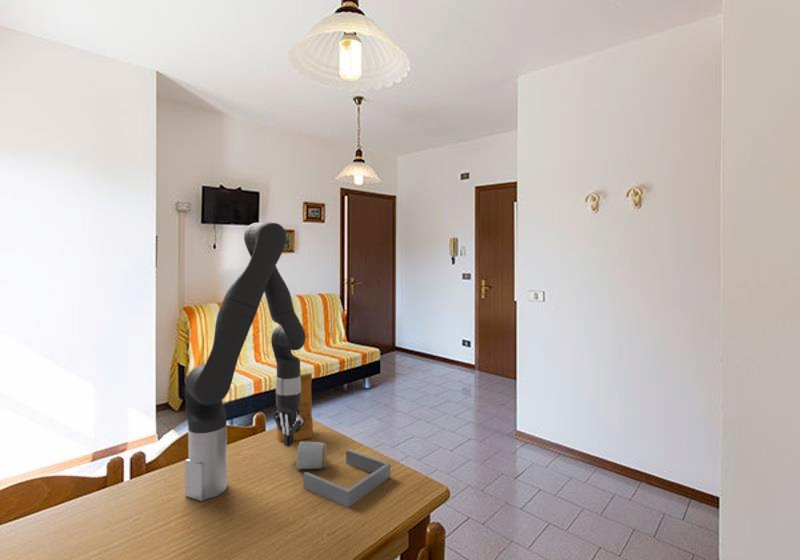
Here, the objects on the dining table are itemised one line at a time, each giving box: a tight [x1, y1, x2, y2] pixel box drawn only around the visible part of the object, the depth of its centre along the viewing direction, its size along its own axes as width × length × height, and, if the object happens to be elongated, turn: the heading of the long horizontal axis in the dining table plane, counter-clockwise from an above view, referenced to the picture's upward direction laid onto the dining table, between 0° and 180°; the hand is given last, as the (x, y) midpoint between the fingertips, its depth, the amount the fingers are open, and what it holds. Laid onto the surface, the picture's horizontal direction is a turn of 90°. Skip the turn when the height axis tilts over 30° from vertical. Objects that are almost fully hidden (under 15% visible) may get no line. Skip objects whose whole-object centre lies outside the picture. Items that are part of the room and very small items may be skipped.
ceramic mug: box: [296, 440, 328, 470], centre depth 124 cm, size 11×8×8 cm
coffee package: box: [276, 372, 314, 443], centre depth 145 cm, size 10×12×22 cm
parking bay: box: [303, 448, 392, 509], centre depth 114 cm, size 18×16×4 cm
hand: (288, 445), depth 128 cm, fingers closed
